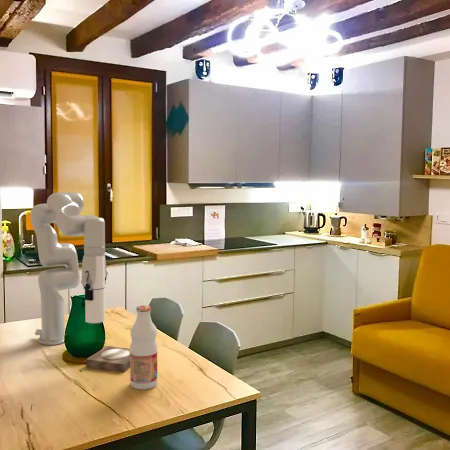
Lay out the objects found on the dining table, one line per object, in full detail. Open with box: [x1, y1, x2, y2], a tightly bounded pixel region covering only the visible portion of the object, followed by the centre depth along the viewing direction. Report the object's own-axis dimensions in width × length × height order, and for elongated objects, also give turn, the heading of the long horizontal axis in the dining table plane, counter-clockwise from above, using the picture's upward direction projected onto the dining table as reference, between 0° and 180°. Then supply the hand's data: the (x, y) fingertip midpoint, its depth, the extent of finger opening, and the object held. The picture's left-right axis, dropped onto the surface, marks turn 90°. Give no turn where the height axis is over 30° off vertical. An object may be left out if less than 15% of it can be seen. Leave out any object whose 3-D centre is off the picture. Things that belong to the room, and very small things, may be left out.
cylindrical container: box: [84, 254, 106, 324], centre depth 197 cm, size 7×7×25 cm
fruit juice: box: [129, 304, 158, 391], centre depth 184 cm, size 9×9×28 cm
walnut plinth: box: [85, 345, 130, 373], centre depth 207 cm, size 16×16×3 cm
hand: (95, 297), depth 198 cm, fingers closed on cylindrical container, 7 cm apart
